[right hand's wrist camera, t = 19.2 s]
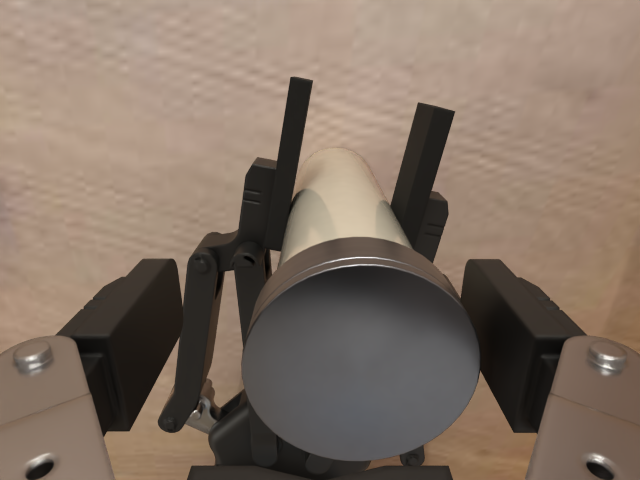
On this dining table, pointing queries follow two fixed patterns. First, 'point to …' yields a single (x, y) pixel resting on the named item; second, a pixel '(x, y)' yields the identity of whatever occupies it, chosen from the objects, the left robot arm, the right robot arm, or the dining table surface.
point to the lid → (359, 351)
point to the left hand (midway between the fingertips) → (369, 94)
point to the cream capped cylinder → (337, 204)
